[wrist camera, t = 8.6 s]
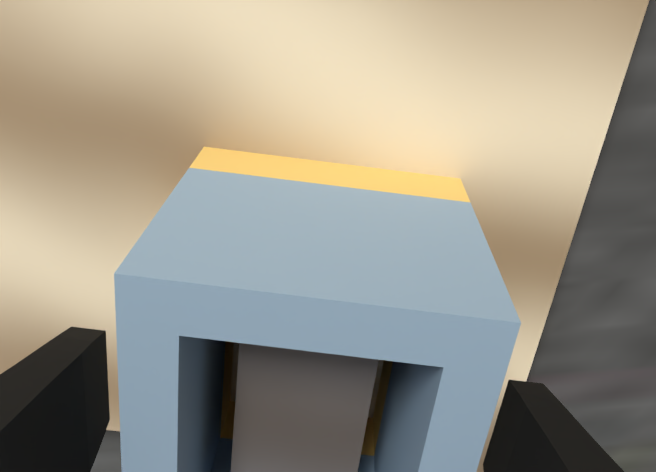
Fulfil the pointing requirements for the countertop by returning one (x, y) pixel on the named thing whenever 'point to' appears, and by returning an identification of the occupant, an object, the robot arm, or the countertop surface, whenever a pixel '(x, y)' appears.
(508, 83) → the board
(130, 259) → the sleeve
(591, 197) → the countertop surface
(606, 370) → the countertop surface
